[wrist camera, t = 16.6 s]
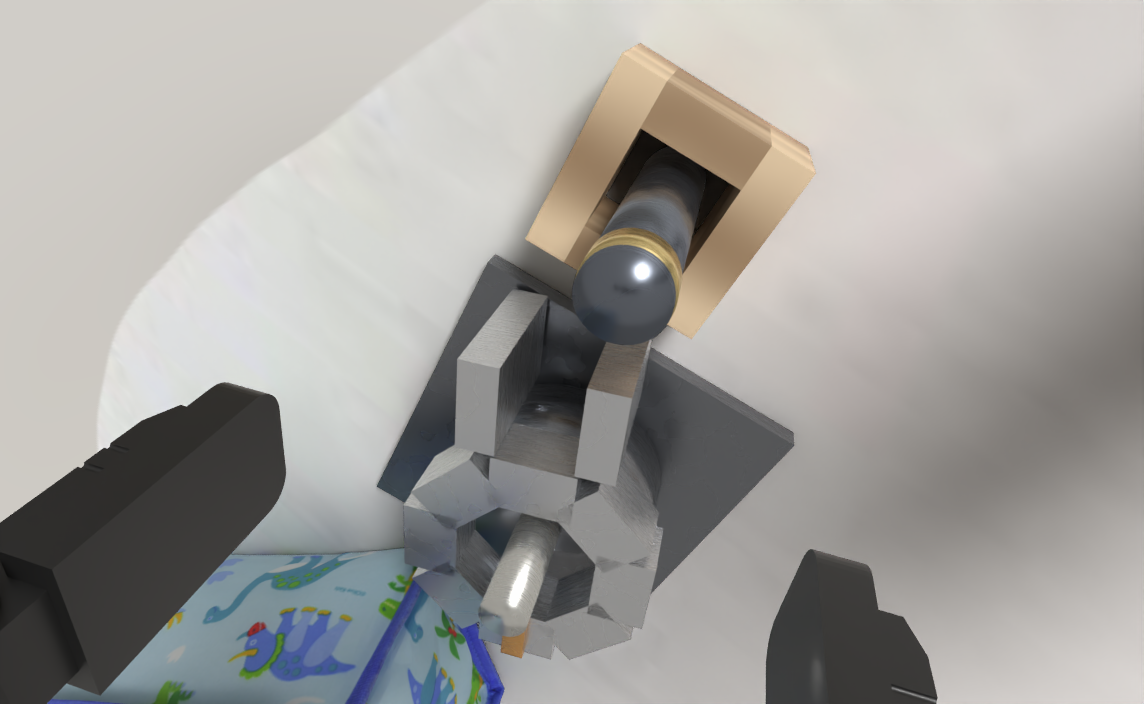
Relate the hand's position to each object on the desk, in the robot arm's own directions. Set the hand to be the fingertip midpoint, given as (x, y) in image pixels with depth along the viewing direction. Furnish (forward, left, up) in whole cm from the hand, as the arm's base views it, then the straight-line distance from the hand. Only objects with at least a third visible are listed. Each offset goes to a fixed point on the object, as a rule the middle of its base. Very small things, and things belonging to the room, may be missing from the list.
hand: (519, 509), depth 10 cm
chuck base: (+15, +3, -20) cm, 25 cm away
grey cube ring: (+13, +2, -19) cm, 23 cm away
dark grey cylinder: (0, 0, -20) cm, 20 cm away
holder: (0, 0, -20) cm, 20 cm away
